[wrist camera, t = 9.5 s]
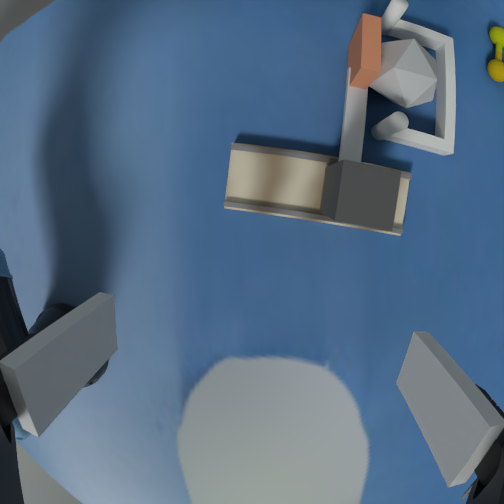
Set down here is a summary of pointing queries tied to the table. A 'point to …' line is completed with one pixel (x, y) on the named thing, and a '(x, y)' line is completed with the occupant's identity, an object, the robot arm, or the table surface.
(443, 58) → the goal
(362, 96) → the rod
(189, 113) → the table surface
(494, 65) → the molecular model
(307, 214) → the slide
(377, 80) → the die
